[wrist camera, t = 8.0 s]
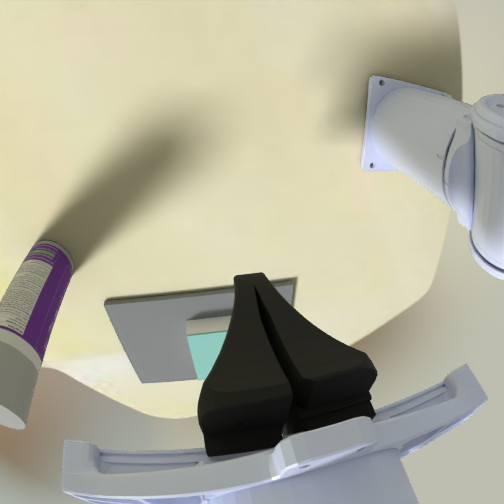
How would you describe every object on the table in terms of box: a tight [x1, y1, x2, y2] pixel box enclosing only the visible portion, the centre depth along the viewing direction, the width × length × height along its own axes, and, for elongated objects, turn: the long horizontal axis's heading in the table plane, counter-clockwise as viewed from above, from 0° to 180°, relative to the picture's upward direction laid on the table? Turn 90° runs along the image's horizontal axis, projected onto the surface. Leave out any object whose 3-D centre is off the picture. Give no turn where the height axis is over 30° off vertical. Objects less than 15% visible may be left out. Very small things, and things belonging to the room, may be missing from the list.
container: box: [0, 241, 74, 429], centre depth 16 cm, size 5×5×15 cm
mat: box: [104, 281, 294, 383], centre depth 31 cm, size 18×14×1 cm
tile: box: [186, 316, 231, 380], centre depth 30 cm, size 2×8×6 cm
